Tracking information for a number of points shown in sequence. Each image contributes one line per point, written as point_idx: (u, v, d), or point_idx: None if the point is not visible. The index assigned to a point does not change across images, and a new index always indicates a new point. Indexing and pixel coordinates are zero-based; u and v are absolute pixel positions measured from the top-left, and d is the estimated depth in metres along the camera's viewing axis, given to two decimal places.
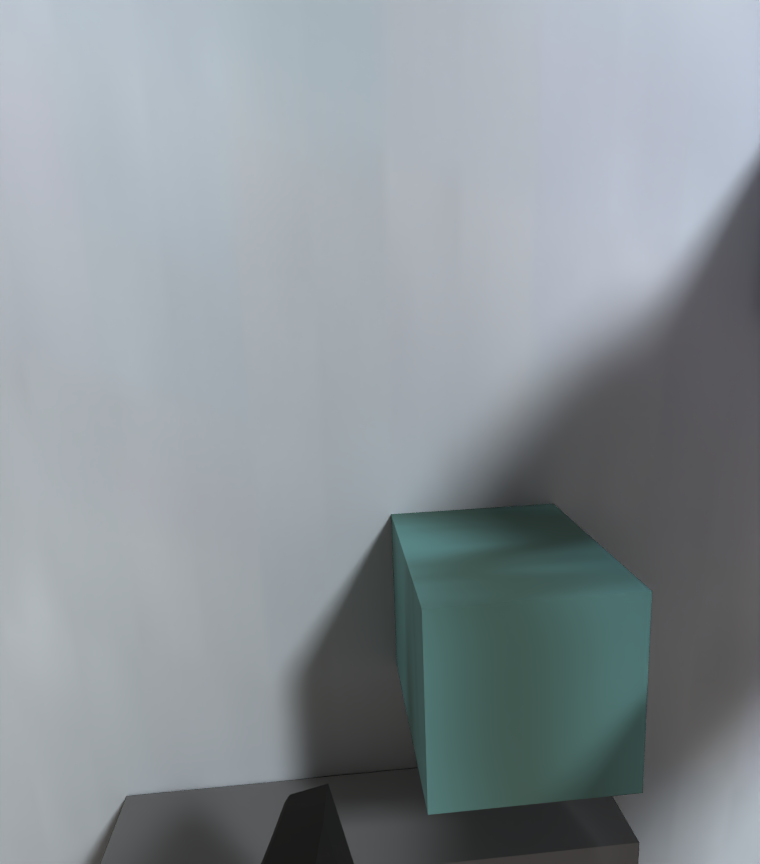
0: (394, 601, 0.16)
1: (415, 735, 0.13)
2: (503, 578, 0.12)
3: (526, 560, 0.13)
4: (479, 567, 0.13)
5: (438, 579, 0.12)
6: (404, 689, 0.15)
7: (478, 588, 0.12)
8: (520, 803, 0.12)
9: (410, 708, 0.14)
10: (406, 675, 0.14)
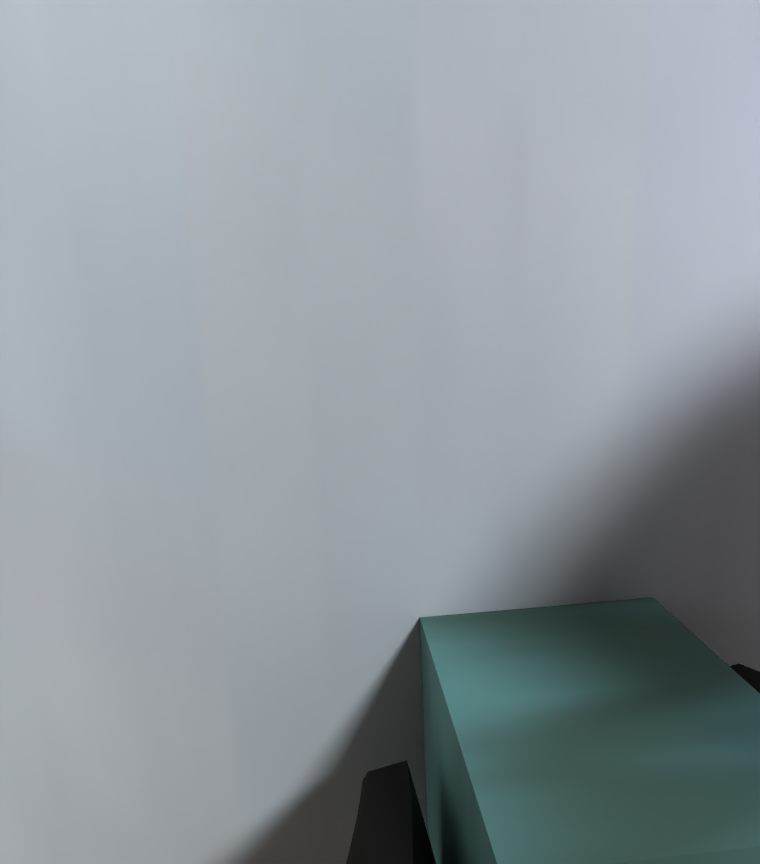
0: (424, 740, 0.11)
1: None
2: (629, 781, 0.07)
3: (653, 733, 0.08)
4: (579, 749, 0.08)
5: (515, 783, 0.07)
6: None
7: (592, 813, 0.07)
8: None
9: None
10: None
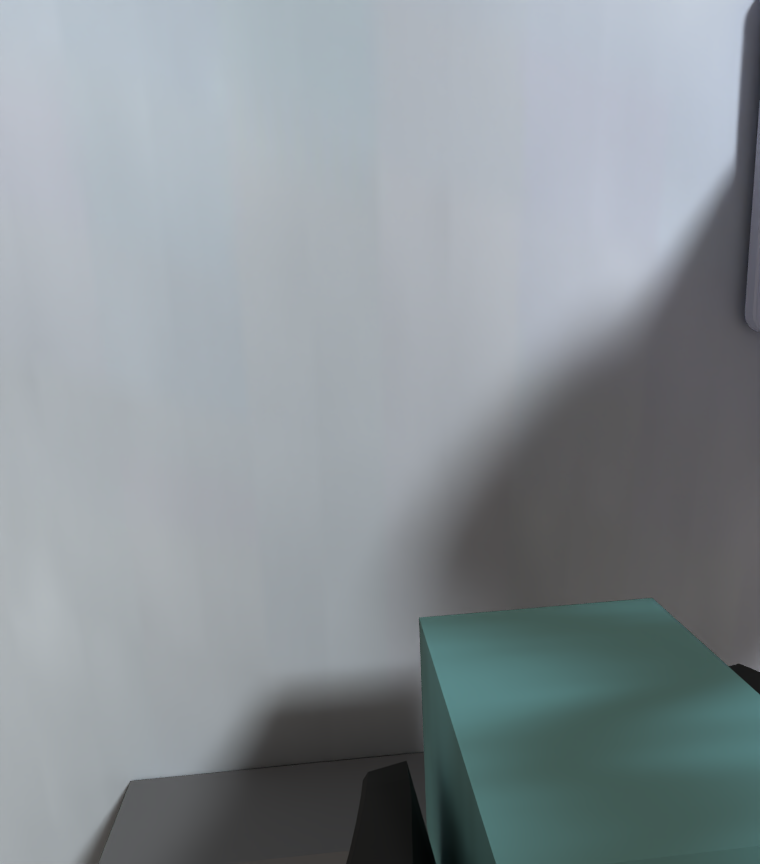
0: (424, 740, 0.11)
1: None
2: (626, 781, 0.07)
3: (651, 733, 0.08)
4: (579, 749, 0.08)
5: (515, 782, 0.07)
6: None
7: (591, 812, 0.07)
8: None
9: None
10: None
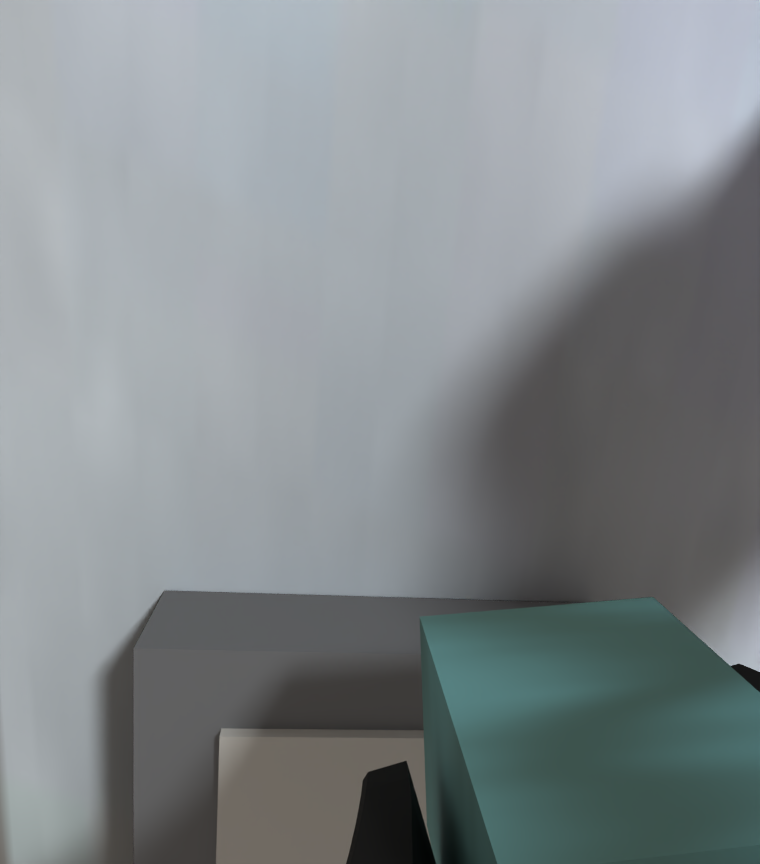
0: (424, 740, 0.11)
1: None
2: (628, 780, 0.07)
3: (653, 732, 0.08)
4: (579, 749, 0.08)
5: (516, 782, 0.07)
6: None
7: (593, 811, 0.07)
8: None
9: None
10: None
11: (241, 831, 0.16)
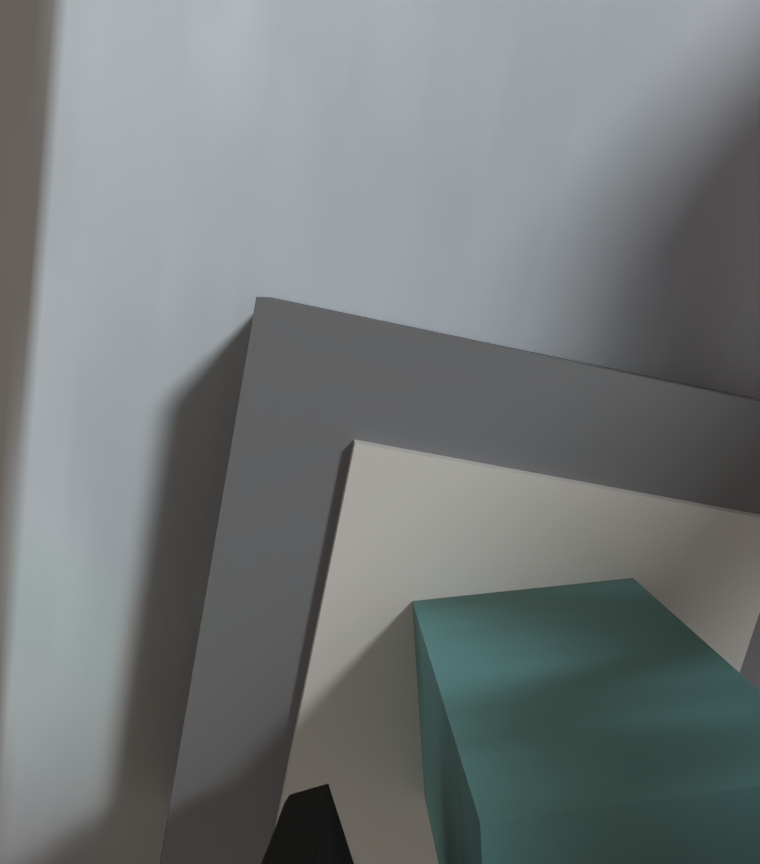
0: (420, 717, 0.12)
1: None
2: (599, 740, 0.08)
3: (625, 697, 0.08)
4: (556, 714, 0.08)
5: (496, 743, 0.08)
6: (439, 855, 0.11)
7: (566, 767, 0.07)
8: None
9: None
10: (444, 847, 0.10)
11: (358, 590, 0.11)
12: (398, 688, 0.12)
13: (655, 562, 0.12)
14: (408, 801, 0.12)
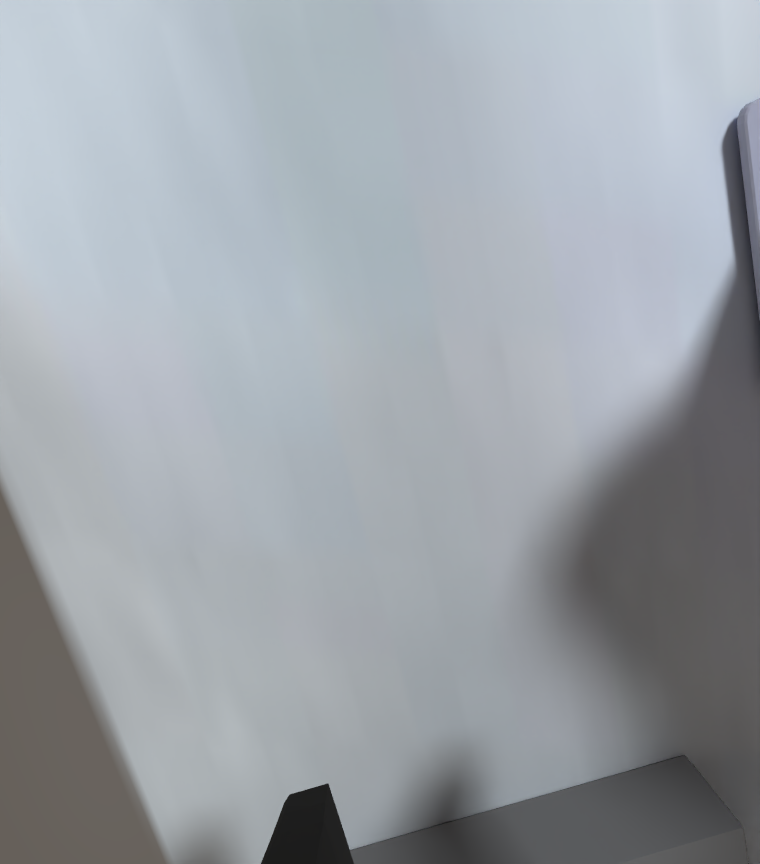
0: None
1: None
2: None
3: None
4: None
5: None
6: None
7: None
8: None
9: None
10: None
11: None
12: None
13: None
14: None
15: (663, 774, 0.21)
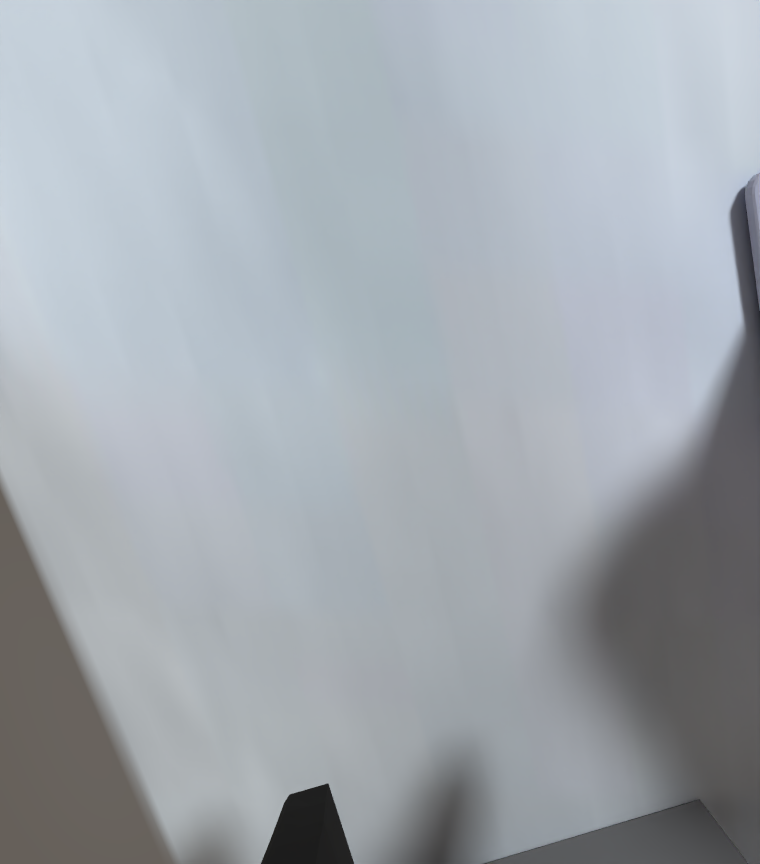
0: None
1: None
2: None
3: None
4: None
5: None
6: None
7: None
8: None
9: None
10: None
11: None
12: None
13: None
14: None
15: (679, 819, 0.21)
